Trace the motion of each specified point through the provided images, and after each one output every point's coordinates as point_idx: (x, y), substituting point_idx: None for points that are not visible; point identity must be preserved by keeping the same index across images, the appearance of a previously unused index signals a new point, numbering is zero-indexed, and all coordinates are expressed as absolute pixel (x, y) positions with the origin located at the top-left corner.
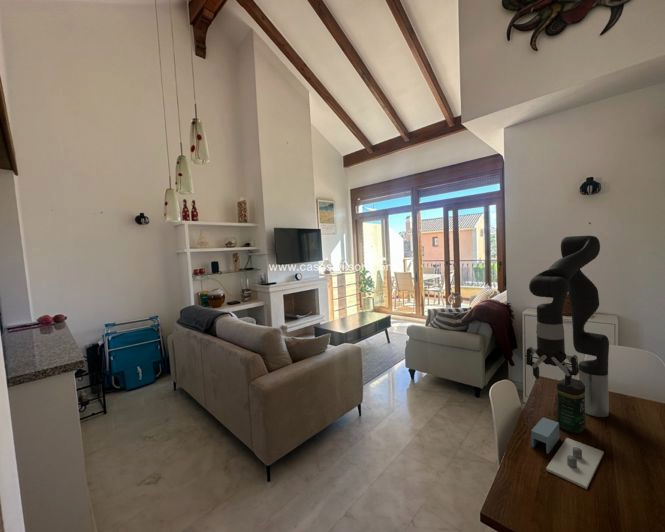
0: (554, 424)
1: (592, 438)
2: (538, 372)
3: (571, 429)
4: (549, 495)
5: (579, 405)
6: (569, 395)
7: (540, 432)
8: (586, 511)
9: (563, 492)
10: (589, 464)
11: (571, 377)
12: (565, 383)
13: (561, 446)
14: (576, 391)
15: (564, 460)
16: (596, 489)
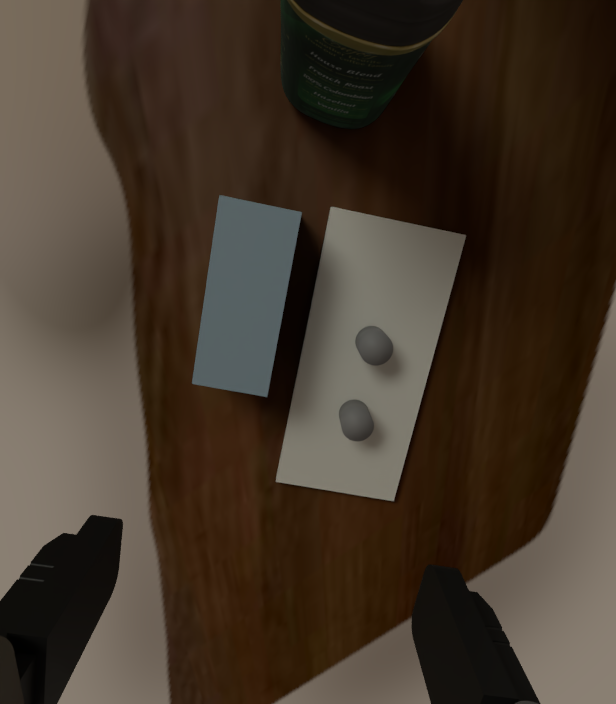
0: (282, 248)
1: (432, 117)
2: (87, 599)
3: (350, 125)
4: (297, 583)
5: (426, 46)
6: (378, 50)
7: (232, 373)
8: (387, 585)
9: (331, 548)
10: (409, 369)
11: (524, 692)
12: (422, 658)
13: (314, 300)
14: (445, 12)
15: (328, 397)
16: (417, 478)
